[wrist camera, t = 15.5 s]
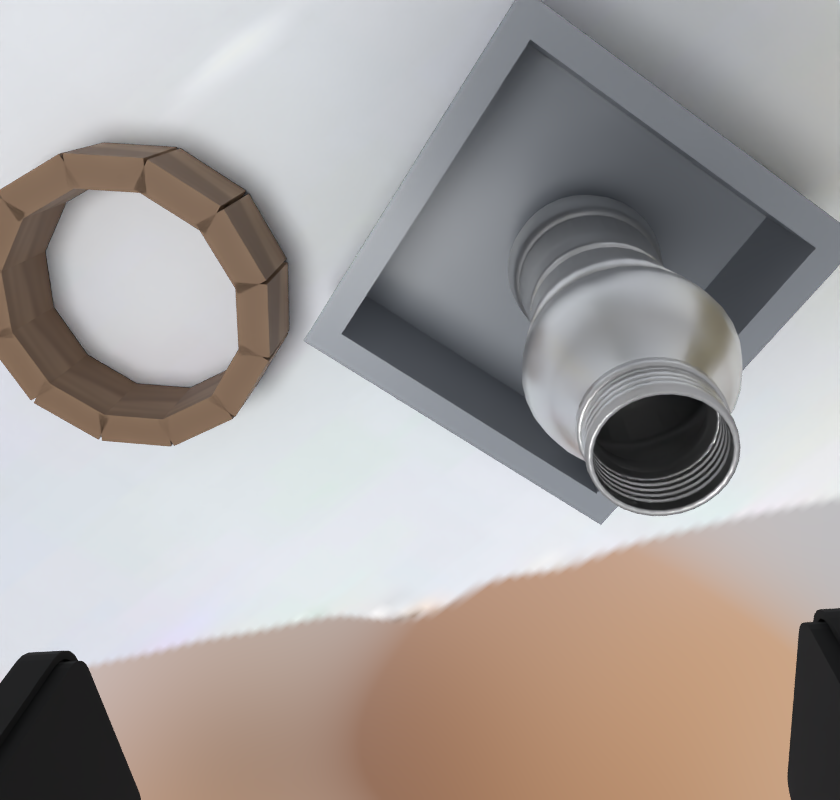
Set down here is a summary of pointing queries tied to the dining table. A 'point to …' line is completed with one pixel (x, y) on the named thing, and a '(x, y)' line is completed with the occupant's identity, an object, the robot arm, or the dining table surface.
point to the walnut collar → (61, 352)
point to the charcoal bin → (520, 199)
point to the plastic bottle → (625, 357)
